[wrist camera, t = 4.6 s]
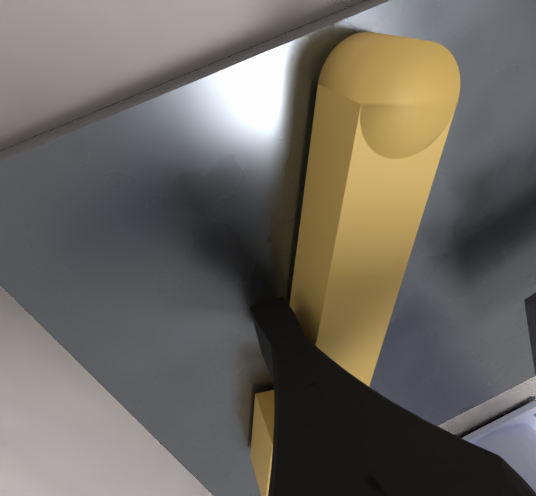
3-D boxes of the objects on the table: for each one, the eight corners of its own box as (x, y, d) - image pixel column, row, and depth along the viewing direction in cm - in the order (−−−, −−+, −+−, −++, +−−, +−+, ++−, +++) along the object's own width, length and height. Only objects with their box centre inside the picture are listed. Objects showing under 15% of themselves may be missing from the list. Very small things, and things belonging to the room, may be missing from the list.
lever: (336, 433, 17) (358, 478, 16) (250, 456, 16) (264, 507, 15) (444, 36, 9) (512, 45, 8) (285, 26, 8) (325, 34, 6)
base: (608, 317, 22) (690, 371, 19) (238, 503, 21) (260, 598, 17) (780, -171, 10) (1076, -244, 7) (-68, 179, 9) (-179, 289, 5)
